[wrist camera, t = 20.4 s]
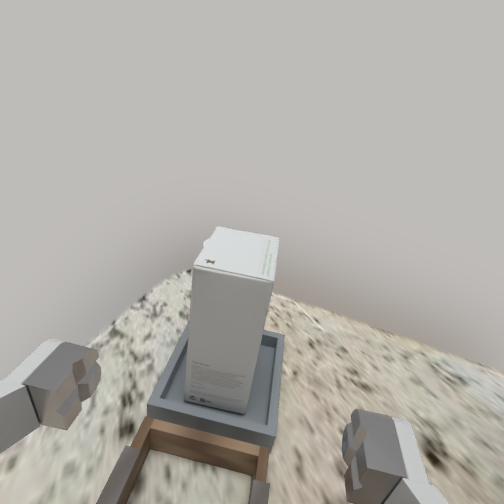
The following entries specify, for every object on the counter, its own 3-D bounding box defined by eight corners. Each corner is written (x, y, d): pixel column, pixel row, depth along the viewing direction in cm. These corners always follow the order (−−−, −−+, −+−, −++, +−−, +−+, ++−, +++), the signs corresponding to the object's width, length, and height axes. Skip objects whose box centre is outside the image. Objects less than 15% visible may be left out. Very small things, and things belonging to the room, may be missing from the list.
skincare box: (244, 417, 29) (277, 285, 22) (177, 401, 30) (187, 265, 22) (255, 351, 37) (283, 236, 29) (201, 339, 37) (215, 221, 29)
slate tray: (280, 349, 39) (284, 334, 38) (270, 452, 28) (275, 436, 27) (191, 328, 39) (192, 313, 38) (147, 420, 28) (147, 403, 27)
